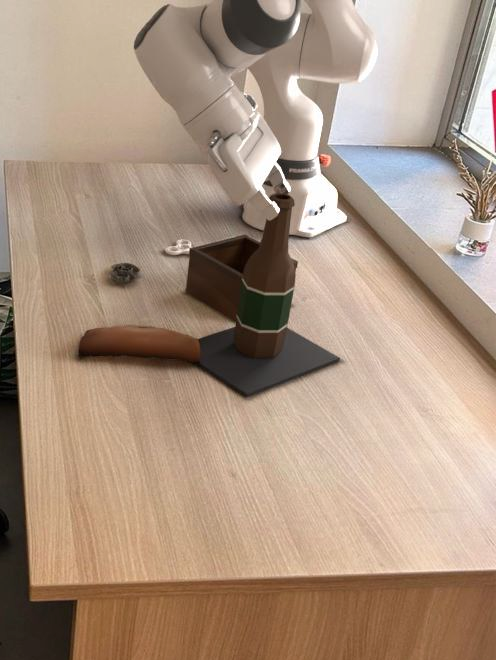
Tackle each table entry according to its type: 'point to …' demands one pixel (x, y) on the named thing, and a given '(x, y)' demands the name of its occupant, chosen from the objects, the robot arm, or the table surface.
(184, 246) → the fidget spinner
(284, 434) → the table surface
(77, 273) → the table surface
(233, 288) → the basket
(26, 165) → the table surface
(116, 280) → the corroded twin loop
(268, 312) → the beer bottle
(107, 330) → the sunglasses case
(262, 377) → the mat
